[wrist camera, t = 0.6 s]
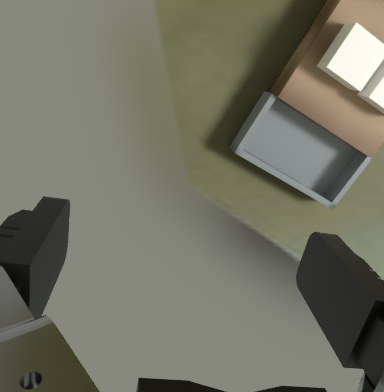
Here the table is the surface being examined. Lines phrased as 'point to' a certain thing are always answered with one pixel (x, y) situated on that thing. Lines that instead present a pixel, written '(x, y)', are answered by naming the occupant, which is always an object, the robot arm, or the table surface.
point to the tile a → (353, 56)
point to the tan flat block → (329, 87)
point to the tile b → (375, 89)
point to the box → (298, 151)
